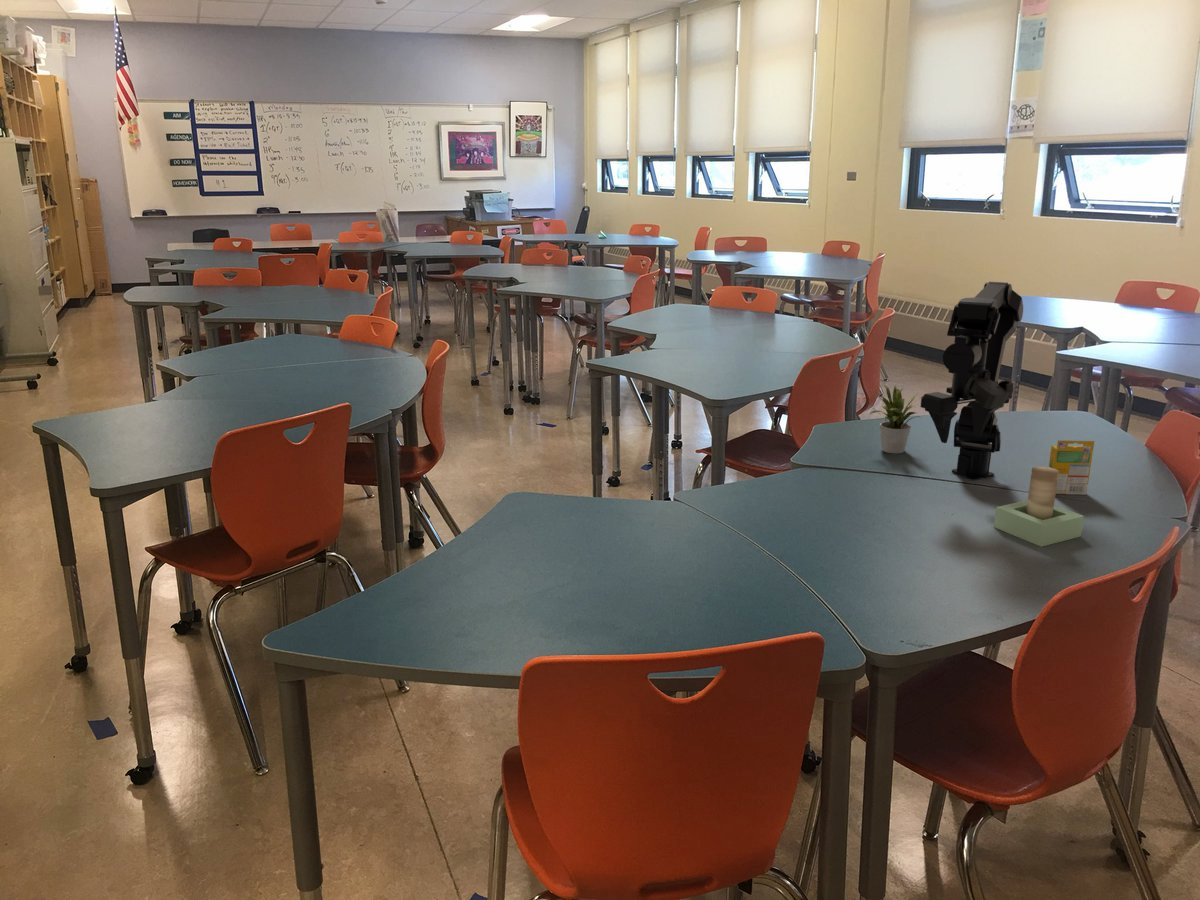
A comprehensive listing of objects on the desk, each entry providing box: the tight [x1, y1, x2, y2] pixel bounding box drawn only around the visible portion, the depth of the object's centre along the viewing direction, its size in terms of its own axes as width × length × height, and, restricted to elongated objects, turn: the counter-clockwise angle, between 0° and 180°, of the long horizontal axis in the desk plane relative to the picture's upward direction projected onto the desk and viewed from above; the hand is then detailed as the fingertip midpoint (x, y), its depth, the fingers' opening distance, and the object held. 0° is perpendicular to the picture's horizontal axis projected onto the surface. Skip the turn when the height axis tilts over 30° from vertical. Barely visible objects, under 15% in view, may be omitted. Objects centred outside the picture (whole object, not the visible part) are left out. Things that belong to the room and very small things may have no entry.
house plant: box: [866, 383, 921, 454], centre depth 215 cm, size 14×14×16 cm
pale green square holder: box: [993, 499, 1085, 547], centre depth 167 cm, size 10×10×4 cm
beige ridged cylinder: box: [1026, 466, 1059, 520], centre depth 166 cm, size 4×4×12 cm
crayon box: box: [1048, 440, 1095, 496], centre depth 186 cm, size 7×3×12 cm, turn 84°
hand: (960, 439), depth 183 cm, fingers open, 9 cm apart
